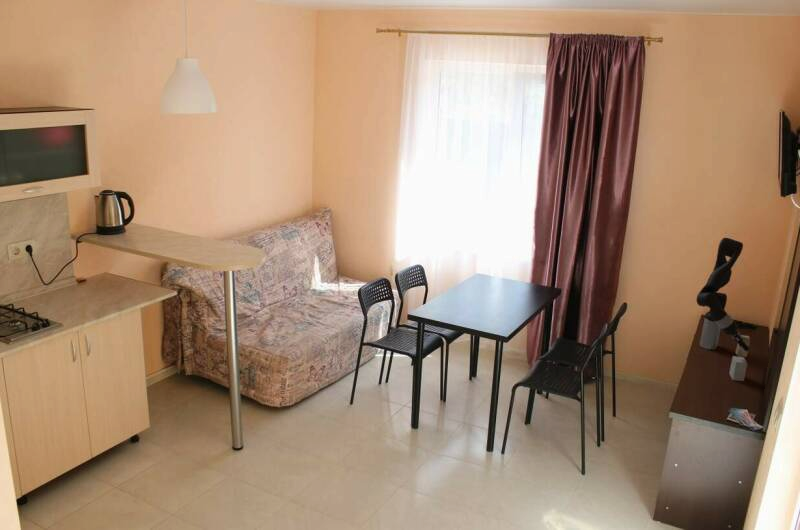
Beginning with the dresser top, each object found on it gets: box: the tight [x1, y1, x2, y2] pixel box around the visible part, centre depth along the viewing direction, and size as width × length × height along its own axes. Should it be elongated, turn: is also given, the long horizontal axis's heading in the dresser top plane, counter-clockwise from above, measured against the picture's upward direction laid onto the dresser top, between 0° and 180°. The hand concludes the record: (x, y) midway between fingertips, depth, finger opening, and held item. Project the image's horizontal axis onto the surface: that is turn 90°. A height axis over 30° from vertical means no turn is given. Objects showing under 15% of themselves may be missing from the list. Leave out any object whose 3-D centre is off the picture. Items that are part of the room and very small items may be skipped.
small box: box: [729, 355, 748, 382], centre depth 376 cm, size 8×6×10 cm
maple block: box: [735, 334, 751, 358], centre depth 372 cm, size 4×4×10 cm
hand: (746, 348), depth 372 cm, fingers closed on maple block, 4 cm apart
